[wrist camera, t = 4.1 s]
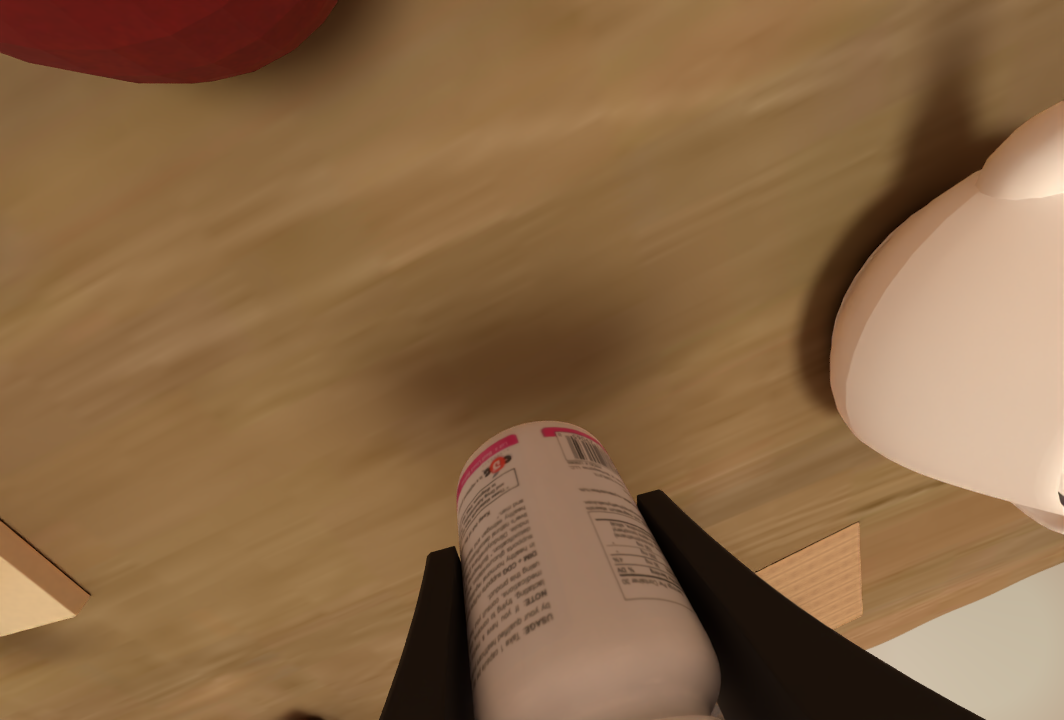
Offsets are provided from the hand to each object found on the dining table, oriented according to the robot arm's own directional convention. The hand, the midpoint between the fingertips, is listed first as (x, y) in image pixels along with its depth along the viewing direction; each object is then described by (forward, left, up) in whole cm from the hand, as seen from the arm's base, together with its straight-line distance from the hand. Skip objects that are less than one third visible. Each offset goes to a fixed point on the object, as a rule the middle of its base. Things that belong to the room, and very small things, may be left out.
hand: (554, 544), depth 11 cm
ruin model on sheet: (-32, -14, -10) cm, 36 cm away
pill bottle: (0, 0, -3) cm, 3 cm away
